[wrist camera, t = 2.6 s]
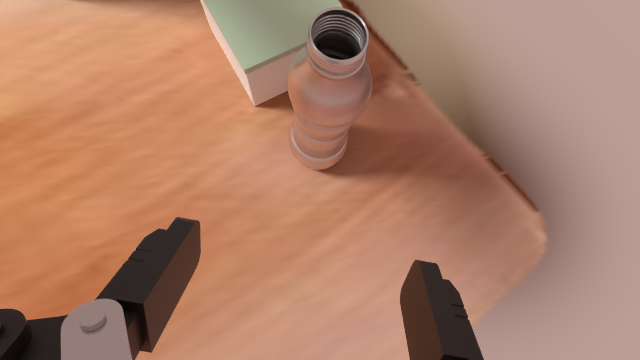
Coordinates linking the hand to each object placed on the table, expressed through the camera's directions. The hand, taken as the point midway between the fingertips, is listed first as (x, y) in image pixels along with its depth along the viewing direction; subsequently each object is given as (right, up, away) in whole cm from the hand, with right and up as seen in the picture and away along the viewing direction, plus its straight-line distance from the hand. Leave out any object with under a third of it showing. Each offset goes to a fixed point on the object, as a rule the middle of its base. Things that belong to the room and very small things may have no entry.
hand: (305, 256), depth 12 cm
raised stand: (-5, +20, +29) cm, 35 cm away
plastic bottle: (0, +7, +26) cm, 27 cm away
